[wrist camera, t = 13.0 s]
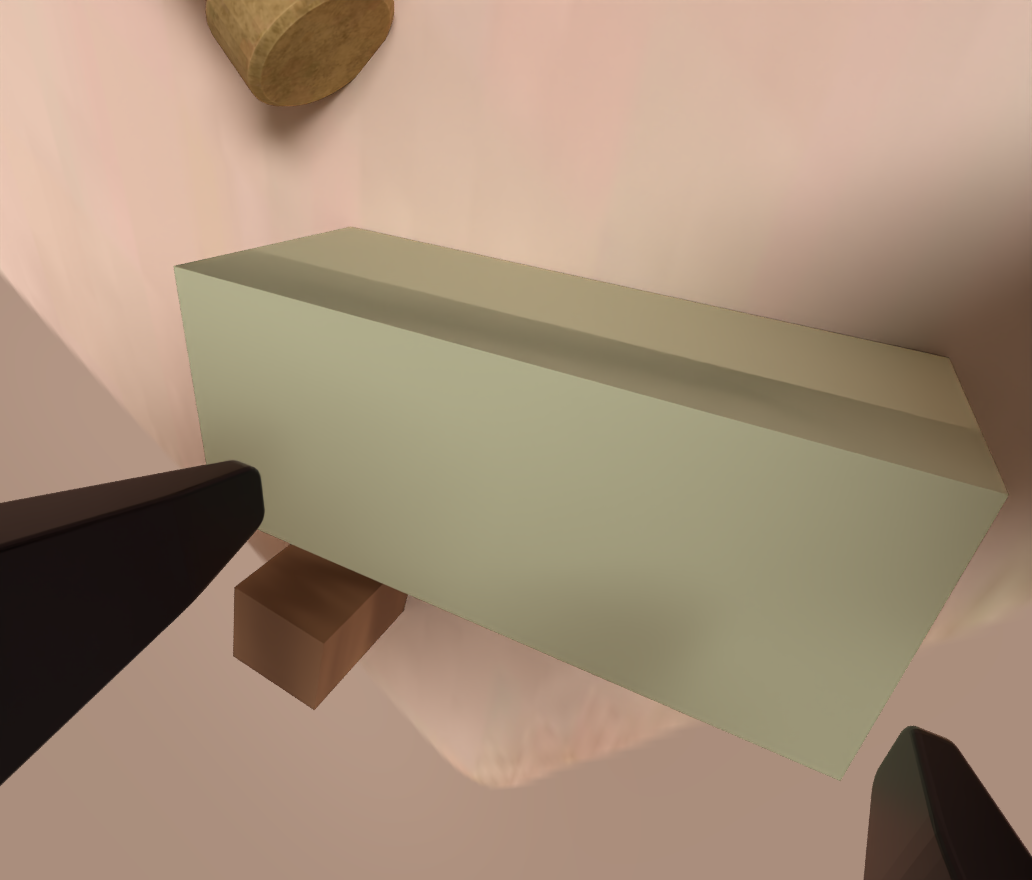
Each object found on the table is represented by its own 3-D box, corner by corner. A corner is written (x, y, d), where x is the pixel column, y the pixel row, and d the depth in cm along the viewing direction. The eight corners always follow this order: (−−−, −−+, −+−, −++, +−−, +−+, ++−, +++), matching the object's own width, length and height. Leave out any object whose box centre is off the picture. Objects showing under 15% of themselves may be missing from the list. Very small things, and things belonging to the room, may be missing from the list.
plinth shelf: (949, 358, 16) (1008, 494, 10) (841, 586, 19) (840, 781, 14) (351, 226, 21) (173, 266, 16) (356, 421, 25) (213, 510, 19)
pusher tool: (466, 349, 22) (356, 416, 17) (403, 610, 29) (314, 710, 24) (370, 304, 22) (239, 355, 18) (333, 568, 30) (233, 655, 25)
